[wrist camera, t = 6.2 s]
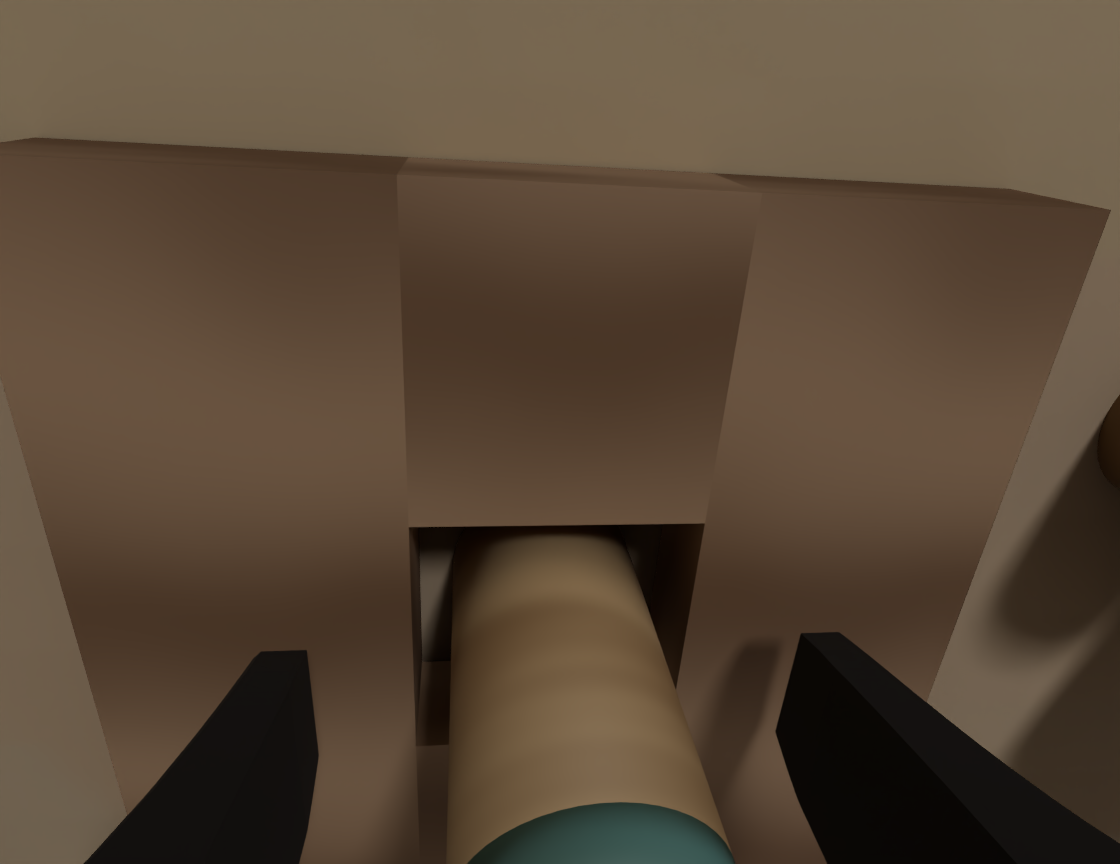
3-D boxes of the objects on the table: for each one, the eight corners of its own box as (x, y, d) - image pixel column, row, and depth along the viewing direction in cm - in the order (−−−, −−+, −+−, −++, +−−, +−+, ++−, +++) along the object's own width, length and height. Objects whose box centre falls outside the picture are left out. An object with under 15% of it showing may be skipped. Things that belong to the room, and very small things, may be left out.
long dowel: (620, 625, 14) (740, 1050, 8) (456, 635, 14) (448, 1087, 8) (632, 484, 13) (786, 865, 7) (449, 491, 13) (434, 900, 6)
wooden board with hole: (818, 801, 17) (858, 884, 16) (197, 841, 16) (164, 940, 14) (1009, 188, 11) (1111, 210, 10) (34, 137, 10) (-64, 151, 8)
